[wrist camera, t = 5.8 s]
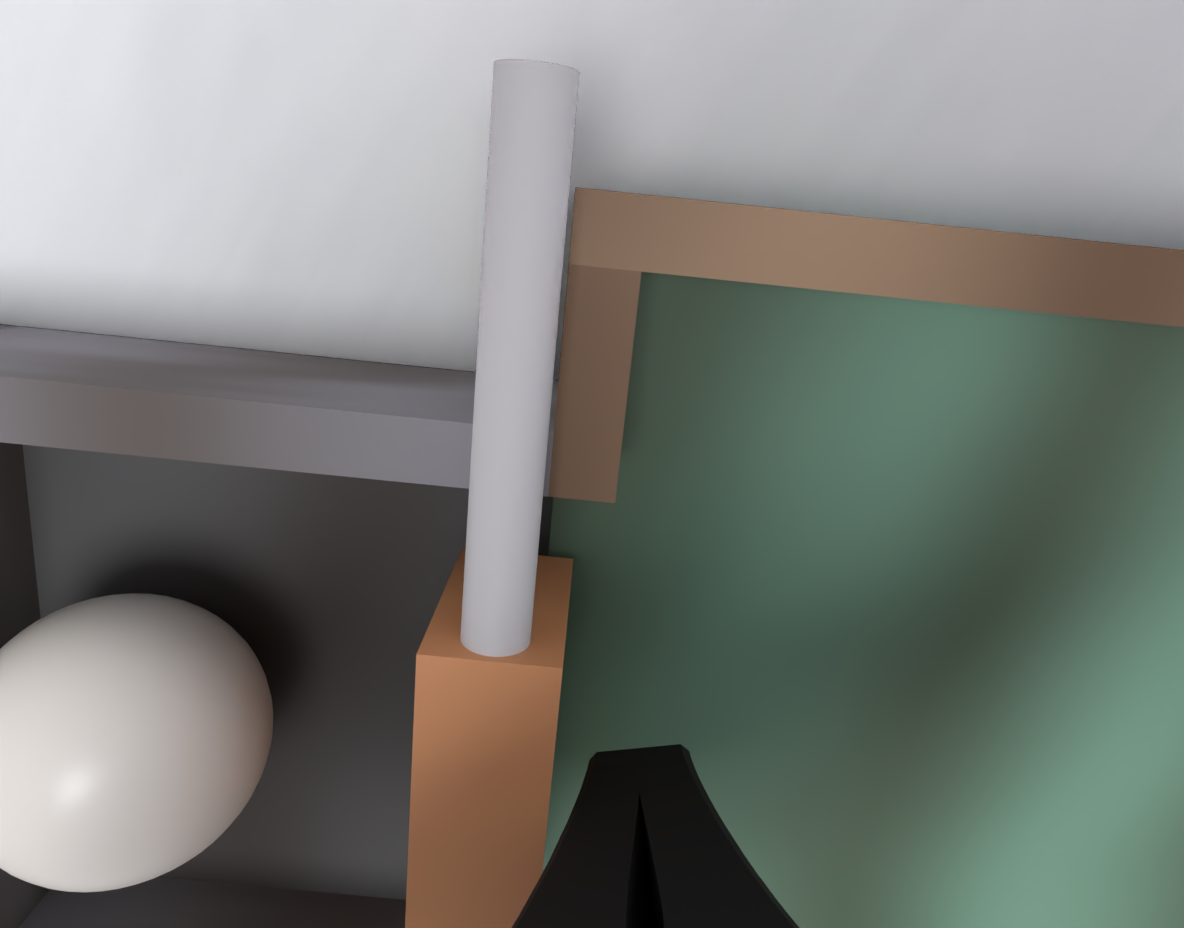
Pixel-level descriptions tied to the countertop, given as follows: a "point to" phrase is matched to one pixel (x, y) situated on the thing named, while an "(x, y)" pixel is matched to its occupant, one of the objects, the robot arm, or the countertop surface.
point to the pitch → (685, 563)
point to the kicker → (500, 548)
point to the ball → (125, 740)
